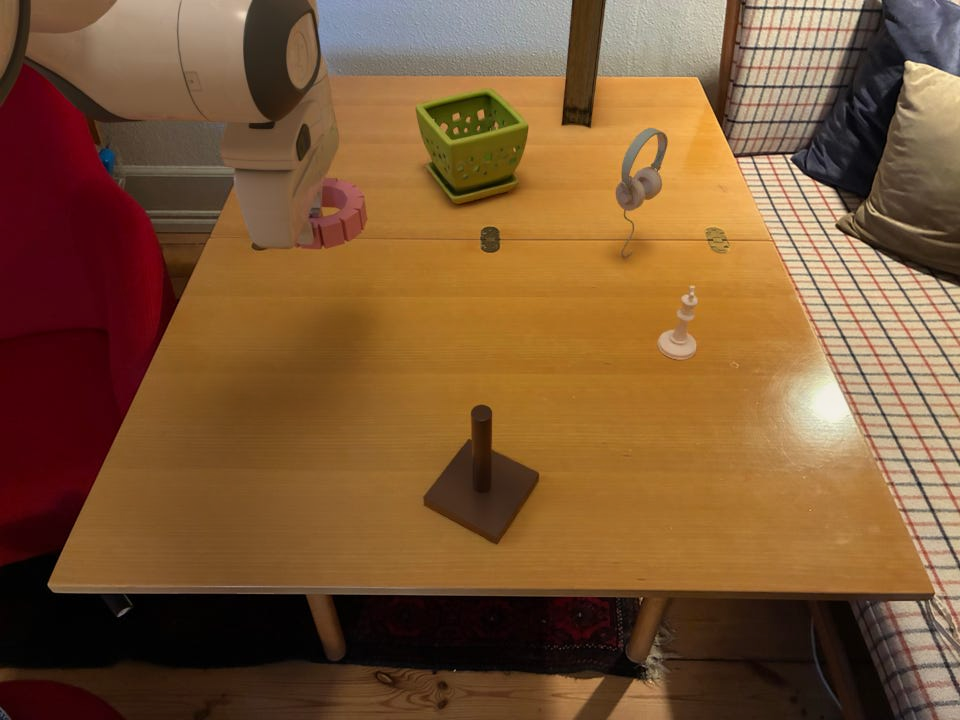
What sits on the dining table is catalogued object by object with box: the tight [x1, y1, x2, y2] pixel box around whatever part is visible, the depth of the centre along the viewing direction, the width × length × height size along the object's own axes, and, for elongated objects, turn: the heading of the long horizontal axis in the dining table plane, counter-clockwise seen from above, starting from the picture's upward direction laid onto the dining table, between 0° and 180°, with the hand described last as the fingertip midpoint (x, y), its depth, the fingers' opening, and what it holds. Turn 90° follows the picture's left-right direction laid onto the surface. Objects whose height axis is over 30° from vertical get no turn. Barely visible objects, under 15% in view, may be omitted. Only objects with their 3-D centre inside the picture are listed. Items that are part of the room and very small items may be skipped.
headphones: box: [615, 127, 669, 259], centre depth 95 cm, size 8×4×20 cm, turn 134°
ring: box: [294, 177, 368, 250], centre depth 76 cm, size 10×10×3 cm
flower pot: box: [415, 87, 529, 205], centre depth 112 cm, size 14×14×13 cm
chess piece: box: [656, 285, 699, 361], centre depth 86 cm, size 5×5×10 cm
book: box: [561, 0, 607, 128], centre depth 126 cm, size 16×6×25 cm, turn 171°
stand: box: [422, 404, 540, 545], centre depth 70 cm, size 9×9×14 cm
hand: (310, 232), depth 73 cm, fingers closed on ring, 2 cm apart
